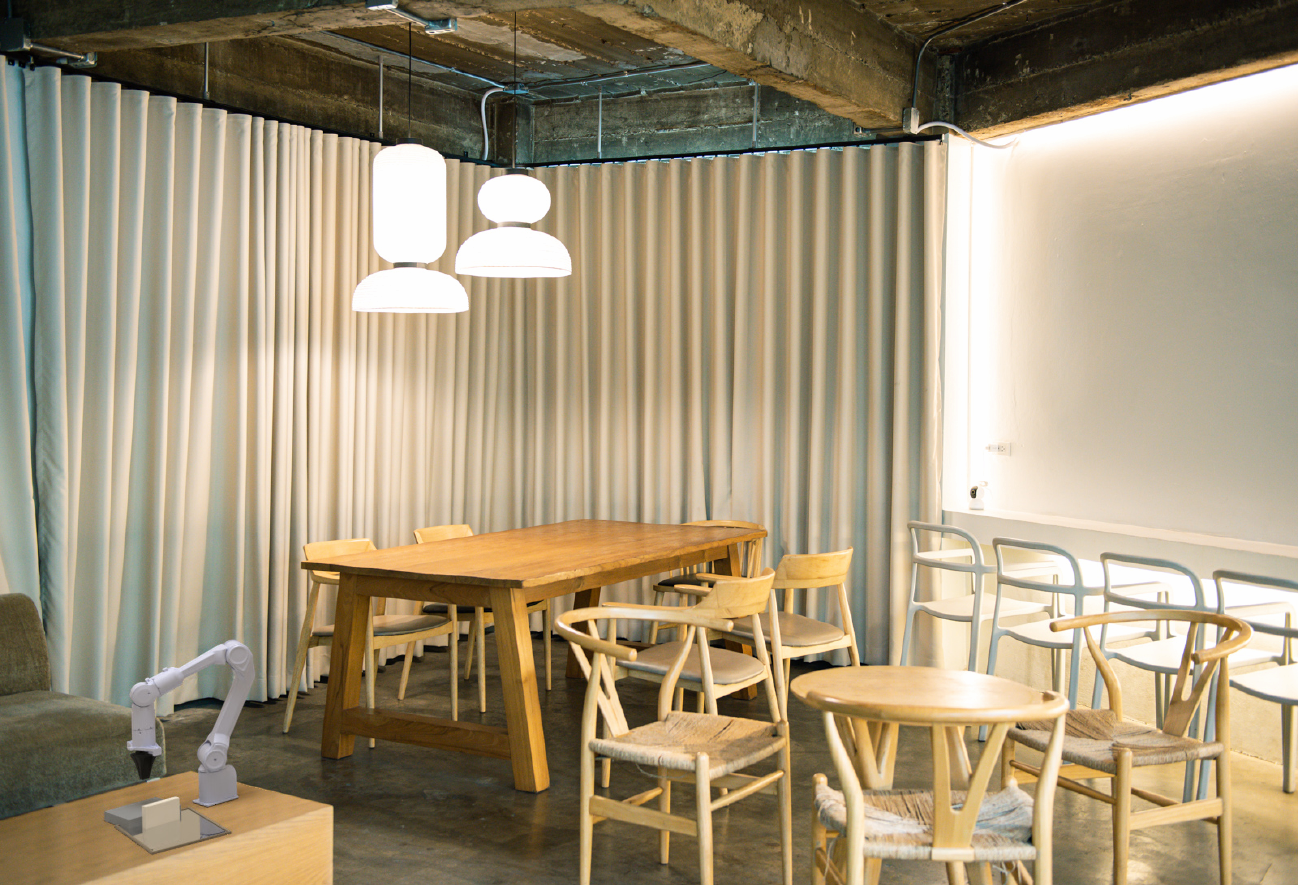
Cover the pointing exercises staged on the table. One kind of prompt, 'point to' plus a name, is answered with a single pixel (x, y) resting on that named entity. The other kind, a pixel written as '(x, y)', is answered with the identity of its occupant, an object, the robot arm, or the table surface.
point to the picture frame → (175, 832)
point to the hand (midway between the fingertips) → (144, 778)
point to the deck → (129, 813)
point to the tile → (160, 812)
